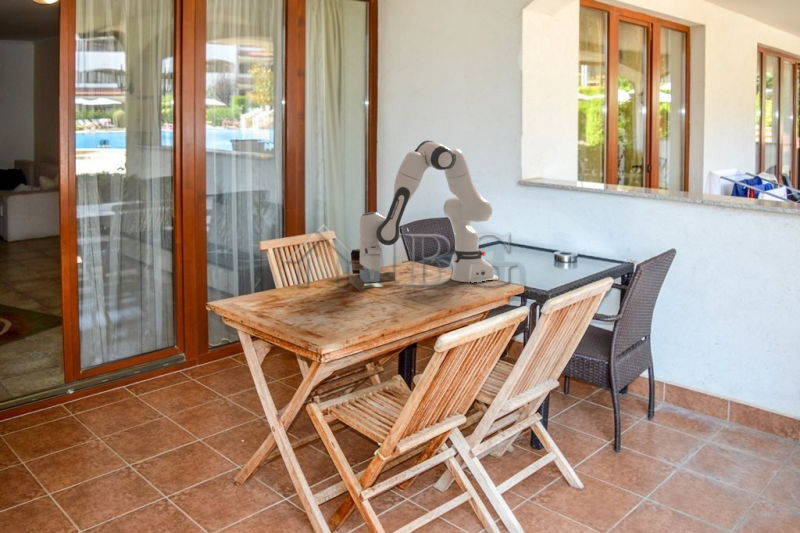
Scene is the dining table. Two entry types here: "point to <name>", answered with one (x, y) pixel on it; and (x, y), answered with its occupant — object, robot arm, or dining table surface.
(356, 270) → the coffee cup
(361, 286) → the brown l-shaped corner fence
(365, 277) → the block
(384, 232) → the robot arm
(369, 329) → the dining table surface
